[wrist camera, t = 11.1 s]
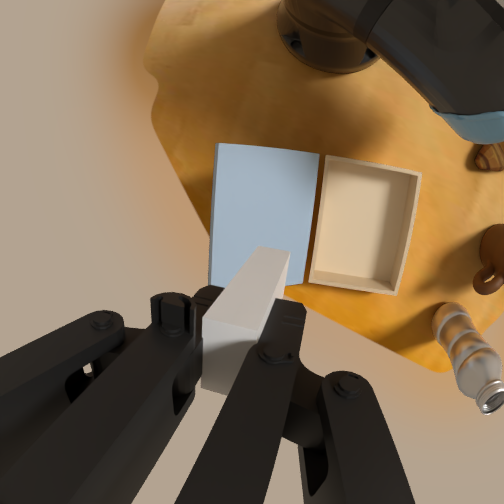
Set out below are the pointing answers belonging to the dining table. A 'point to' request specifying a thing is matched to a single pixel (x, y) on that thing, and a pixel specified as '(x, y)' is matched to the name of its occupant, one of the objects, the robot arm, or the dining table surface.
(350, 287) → the base
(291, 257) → the lid
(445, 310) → the plastic bottle
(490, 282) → the mug
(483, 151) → the croissant
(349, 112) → the dining table surface
